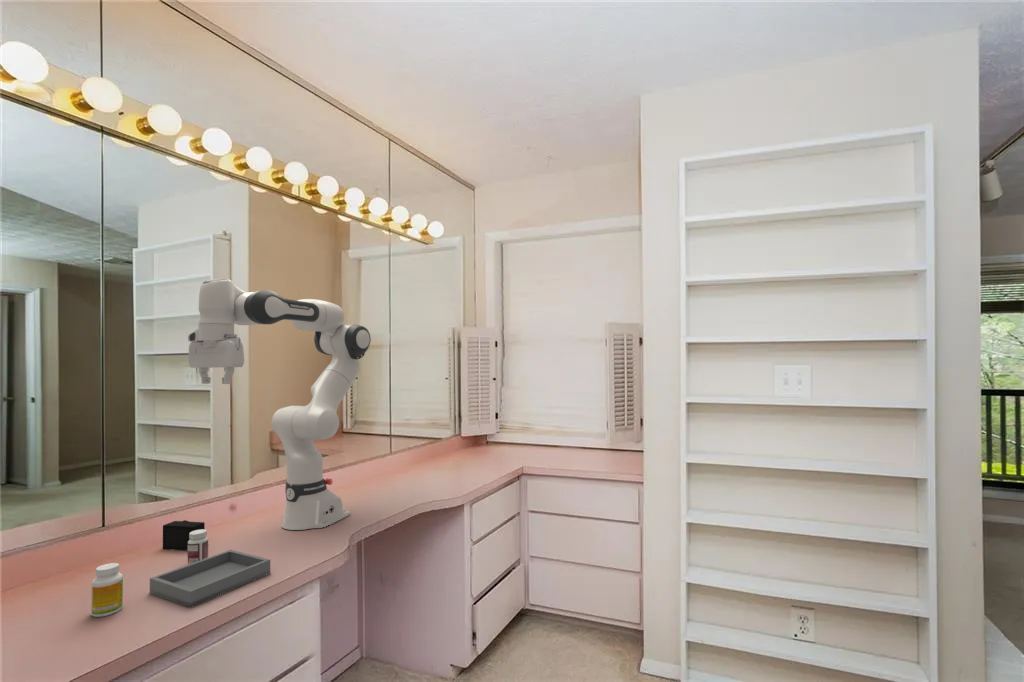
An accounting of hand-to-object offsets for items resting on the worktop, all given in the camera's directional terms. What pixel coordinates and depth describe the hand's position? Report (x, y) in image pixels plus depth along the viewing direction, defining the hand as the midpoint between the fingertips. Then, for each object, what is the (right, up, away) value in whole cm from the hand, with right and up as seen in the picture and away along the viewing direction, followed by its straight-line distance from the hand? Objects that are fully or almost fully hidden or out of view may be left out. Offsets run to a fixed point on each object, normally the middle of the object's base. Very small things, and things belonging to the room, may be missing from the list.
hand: (216, 383), depth 144 cm
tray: (+10, -47, -20) cm, 52 cm away
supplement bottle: (-5, -47, -33) cm, 58 cm away
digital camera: (-12, -49, +6) cm, 51 cm away
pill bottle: (-1, -48, -7) cm, 49 cm away
